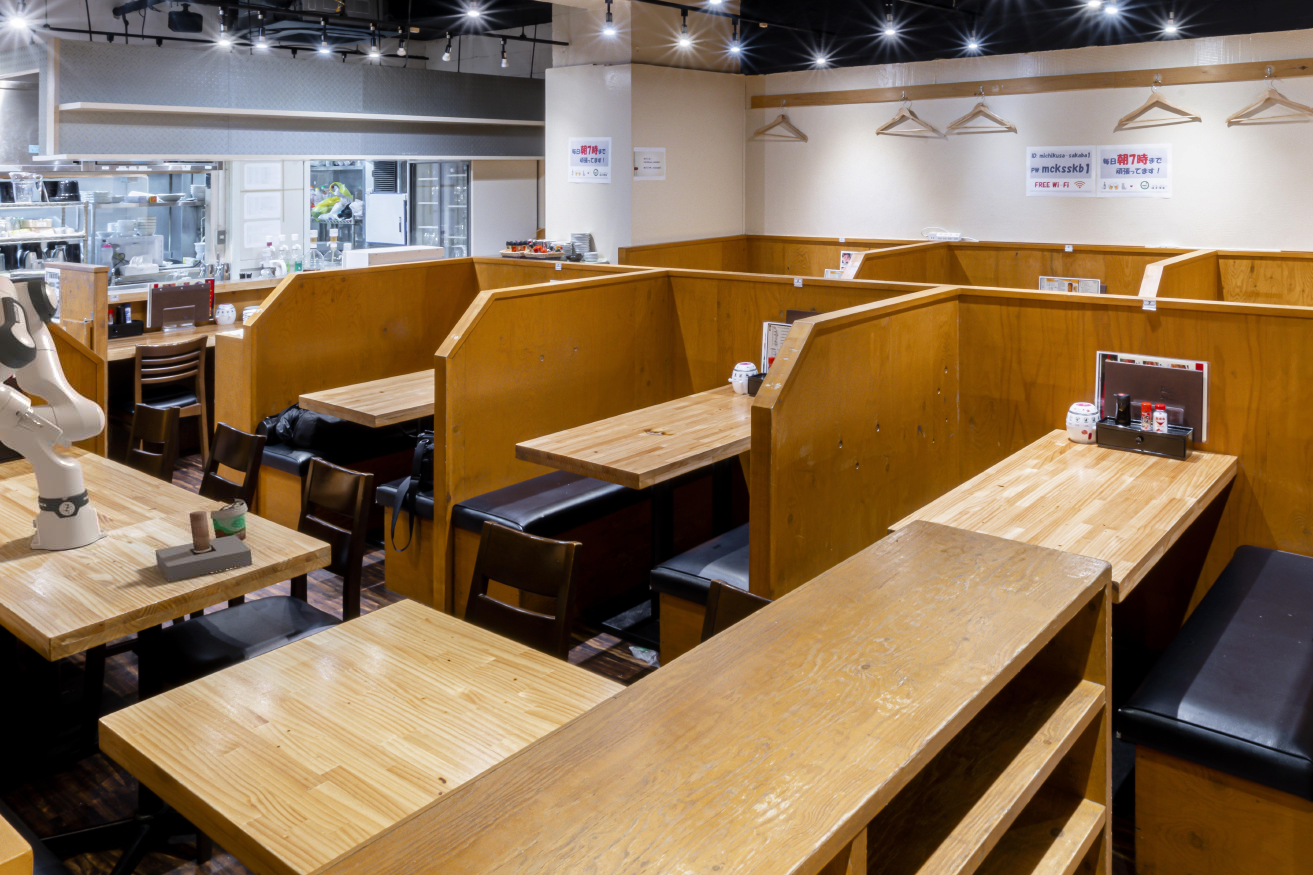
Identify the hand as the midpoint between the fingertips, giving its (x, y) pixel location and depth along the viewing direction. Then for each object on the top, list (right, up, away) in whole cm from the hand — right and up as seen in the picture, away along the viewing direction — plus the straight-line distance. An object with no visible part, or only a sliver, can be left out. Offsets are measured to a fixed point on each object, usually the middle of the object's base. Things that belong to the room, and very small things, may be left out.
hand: (62, 442), depth 256 cm
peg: (+27, -32, +18) cm, 45 cm away
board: (+27, -32, +18) cm, 45 cm away
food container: (+28, -27, +37) cm, 54 cm away
